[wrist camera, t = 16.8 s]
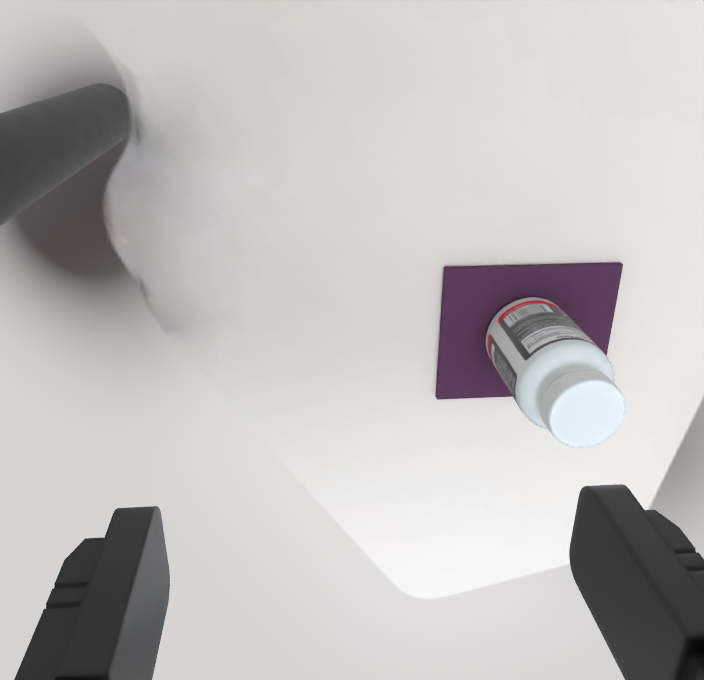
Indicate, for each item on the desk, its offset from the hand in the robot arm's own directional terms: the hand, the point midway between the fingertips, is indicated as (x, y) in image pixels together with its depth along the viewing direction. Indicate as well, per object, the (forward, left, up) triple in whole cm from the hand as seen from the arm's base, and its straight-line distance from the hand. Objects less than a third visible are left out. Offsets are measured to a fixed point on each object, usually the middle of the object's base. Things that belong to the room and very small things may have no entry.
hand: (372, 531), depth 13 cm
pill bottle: (+13, -9, -28) cm, 32 cm away
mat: (+13, -9, -28) cm, 32 cm away
